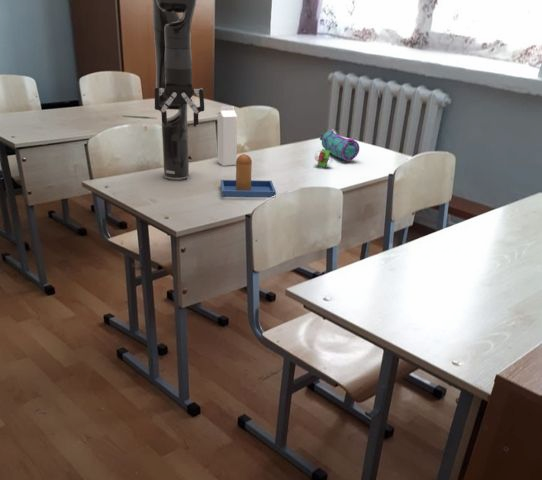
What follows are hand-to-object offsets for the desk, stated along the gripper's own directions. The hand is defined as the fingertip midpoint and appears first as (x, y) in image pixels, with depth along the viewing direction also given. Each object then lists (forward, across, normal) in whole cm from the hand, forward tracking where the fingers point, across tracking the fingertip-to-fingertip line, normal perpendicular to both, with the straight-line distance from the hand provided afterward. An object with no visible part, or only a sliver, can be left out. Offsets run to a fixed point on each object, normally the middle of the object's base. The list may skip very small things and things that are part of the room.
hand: (180, 125), depth 175 cm
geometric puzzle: (+29, -56, -60) cm, 87 cm away
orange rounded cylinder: (+28, -21, -24) cm, 42 cm away
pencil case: (+29, -66, -77) cm, 105 cm away
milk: (+29, -16, -61) cm, 69 cm away
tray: (+28, -22, -23) cm, 43 cm away
